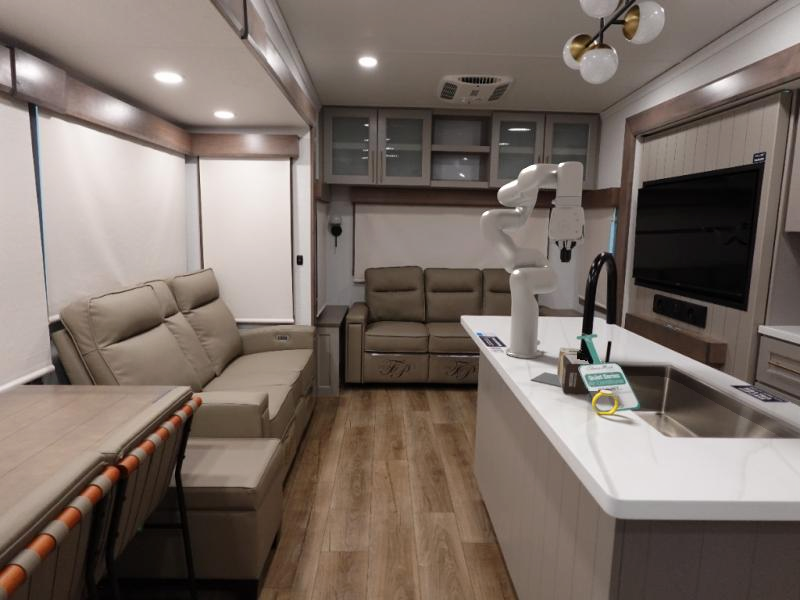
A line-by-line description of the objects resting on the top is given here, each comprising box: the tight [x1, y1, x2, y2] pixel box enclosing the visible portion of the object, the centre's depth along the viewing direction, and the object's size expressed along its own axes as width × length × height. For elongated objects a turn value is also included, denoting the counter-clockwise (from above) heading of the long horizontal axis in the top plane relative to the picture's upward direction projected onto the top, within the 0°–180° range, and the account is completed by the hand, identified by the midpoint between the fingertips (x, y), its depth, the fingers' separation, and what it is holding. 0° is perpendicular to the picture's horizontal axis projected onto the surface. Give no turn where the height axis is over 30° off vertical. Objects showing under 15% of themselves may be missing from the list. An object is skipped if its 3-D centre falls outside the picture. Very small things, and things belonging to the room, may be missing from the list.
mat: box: [530, 372, 562, 388], centre depth 150 cm, size 10×10×1 cm
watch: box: [591, 389, 619, 416], centre depth 123 cm, size 6×3×6 cm, turn 87°
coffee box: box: [556, 347, 590, 396], centre depth 144 cm, size 9×6×16 cm
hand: (565, 262), depth 156 cm, fingers closed
